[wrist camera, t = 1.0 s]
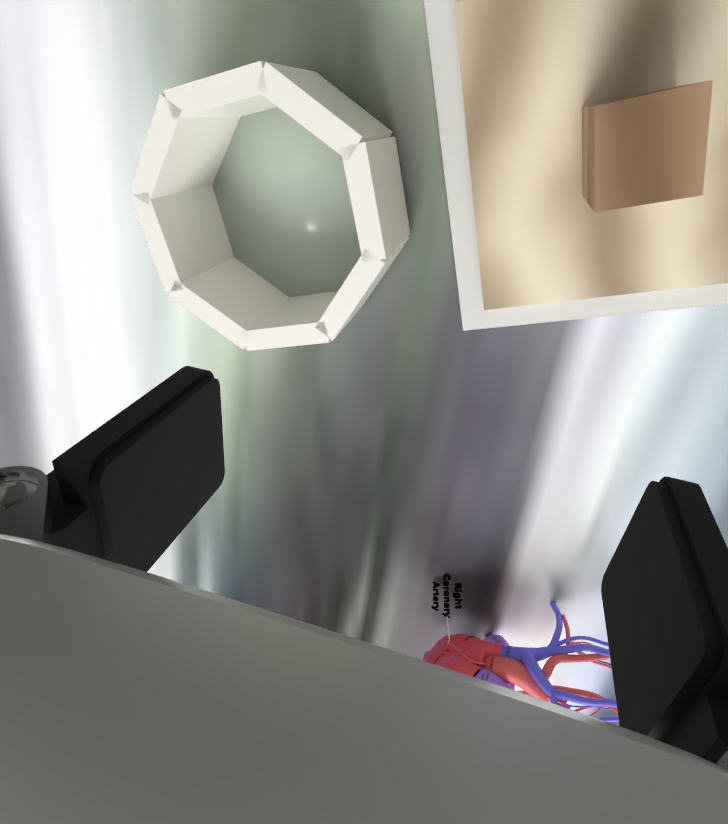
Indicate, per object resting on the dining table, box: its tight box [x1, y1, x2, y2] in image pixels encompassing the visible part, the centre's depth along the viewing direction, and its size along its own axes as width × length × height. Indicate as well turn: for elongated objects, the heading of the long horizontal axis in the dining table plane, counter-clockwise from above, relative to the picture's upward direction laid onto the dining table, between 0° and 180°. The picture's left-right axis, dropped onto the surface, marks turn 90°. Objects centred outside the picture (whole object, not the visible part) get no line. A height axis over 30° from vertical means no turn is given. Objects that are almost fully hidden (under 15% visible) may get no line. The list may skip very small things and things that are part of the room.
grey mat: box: [424, 0, 728, 330], centre depth 26 cm, size 18×18×1 cm
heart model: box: [423, 575, 619, 722], centre depth 40 cm, size 15×9×18 cm
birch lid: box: [454, 0, 728, 310], centre depth 23 cm, size 15×15×6 cm
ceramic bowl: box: [129, 61, 410, 351], centre depth 29 cm, size 13×13×7 cm
